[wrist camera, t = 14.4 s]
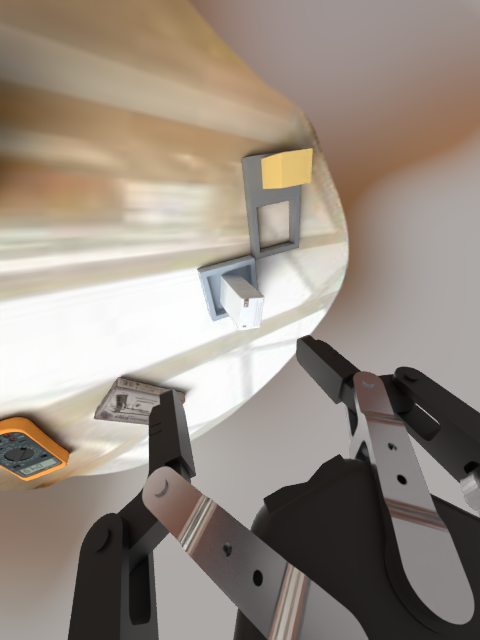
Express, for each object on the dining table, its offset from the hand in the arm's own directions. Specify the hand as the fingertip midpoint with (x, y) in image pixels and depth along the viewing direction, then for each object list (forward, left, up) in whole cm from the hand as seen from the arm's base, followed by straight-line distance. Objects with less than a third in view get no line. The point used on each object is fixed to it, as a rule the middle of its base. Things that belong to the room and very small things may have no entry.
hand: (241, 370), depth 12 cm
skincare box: (+9, +8, -30) cm, 32 cm away
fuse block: (-3, +19, -30) cm, 36 cm away
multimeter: (+31, -43, -31) cm, 61 cm away
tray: (+9, +8, -30) cm, 32 cm away
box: (+32, -19, -31) cm, 48 cm away
